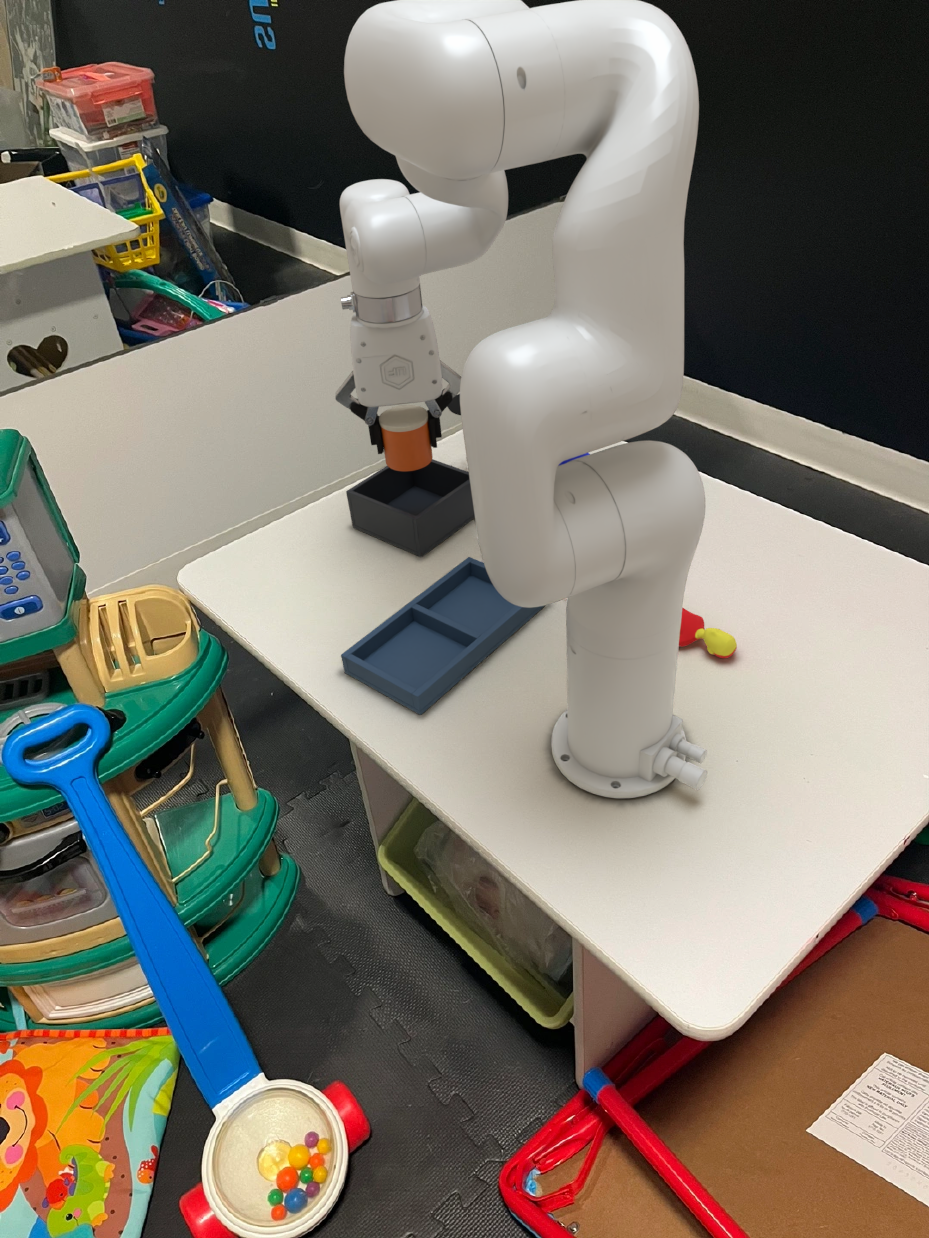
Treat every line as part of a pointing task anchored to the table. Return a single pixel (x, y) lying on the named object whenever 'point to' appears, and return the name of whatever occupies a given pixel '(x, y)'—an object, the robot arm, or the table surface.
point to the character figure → (705, 635)
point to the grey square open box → (412, 505)
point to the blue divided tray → (436, 638)
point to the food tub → (406, 437)
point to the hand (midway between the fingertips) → (407, 444)
